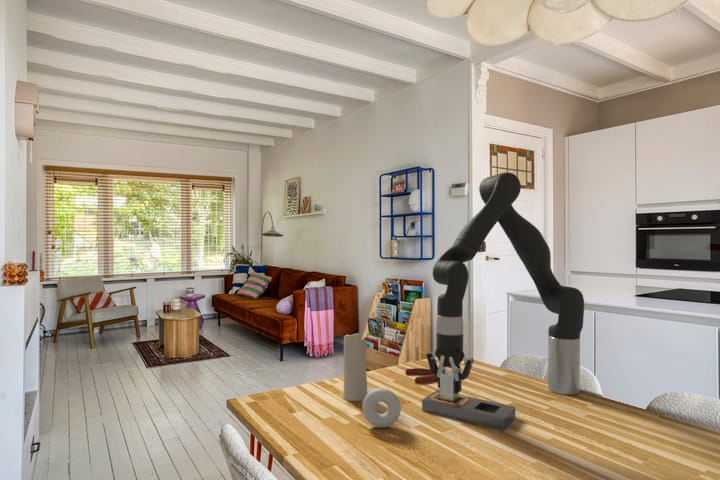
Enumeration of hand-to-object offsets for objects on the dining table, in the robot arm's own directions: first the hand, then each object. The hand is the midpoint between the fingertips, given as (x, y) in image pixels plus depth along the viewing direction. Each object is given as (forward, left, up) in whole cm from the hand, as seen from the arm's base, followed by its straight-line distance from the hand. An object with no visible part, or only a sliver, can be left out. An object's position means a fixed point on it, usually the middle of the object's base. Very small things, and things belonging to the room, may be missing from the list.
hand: (449, 391), depth 127 cm
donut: (+21, -10, -5) cm, 24 cm away
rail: (0, +5, -5) cm, 8 cm away
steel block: (0, 0, -4) cm, 4 cm away
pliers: (-23, -15, -6) cm, 29 cm away
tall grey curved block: (+4, -28, -5) cm, 28 cm away
